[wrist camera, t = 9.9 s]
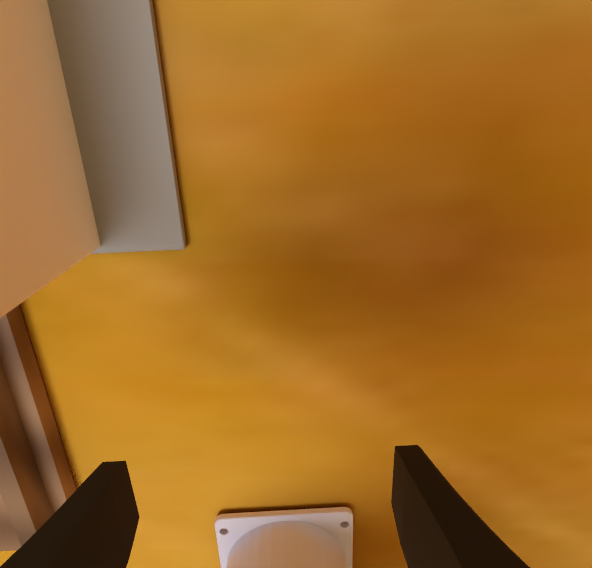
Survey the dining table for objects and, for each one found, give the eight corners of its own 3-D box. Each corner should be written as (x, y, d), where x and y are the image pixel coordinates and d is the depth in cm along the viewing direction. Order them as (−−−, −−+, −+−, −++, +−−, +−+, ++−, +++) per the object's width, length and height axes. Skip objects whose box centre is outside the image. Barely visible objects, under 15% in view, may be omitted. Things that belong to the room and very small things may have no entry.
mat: (186, 246, 18) (184, 249, 18) (-43, 256, 18) (-52, 260, 18) (143, -62, 14) (139, -68, 14) (-152, -52, 14) (-167, -58, 14)
